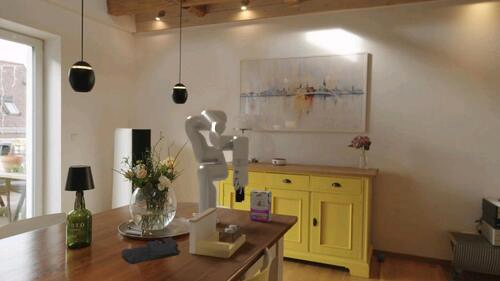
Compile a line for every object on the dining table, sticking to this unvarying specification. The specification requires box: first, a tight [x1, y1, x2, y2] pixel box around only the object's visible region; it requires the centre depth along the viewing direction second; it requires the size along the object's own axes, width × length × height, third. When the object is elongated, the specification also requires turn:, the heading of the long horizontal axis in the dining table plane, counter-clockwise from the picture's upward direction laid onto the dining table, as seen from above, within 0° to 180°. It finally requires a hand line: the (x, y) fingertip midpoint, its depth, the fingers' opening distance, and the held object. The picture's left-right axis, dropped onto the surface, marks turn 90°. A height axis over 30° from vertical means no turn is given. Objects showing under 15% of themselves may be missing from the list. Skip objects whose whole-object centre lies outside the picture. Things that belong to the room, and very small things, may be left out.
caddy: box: [218, 223, 243, 243], centre depth 158 cm, size 6×12×5 cm, turn 163°
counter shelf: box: [188, 207, 246, 259], centre depth 155 cm, size 17×23×14 cm
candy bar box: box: [249, 189, 273, 223], centre depth 199 cm, size 11×5×16 cm, turn 67°
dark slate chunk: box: [121, 237, 181, 265], centre depth 146 cm, size 15×22×5 cm
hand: (239, 200), depth 168 cm, fingers open, 3 cm apart
